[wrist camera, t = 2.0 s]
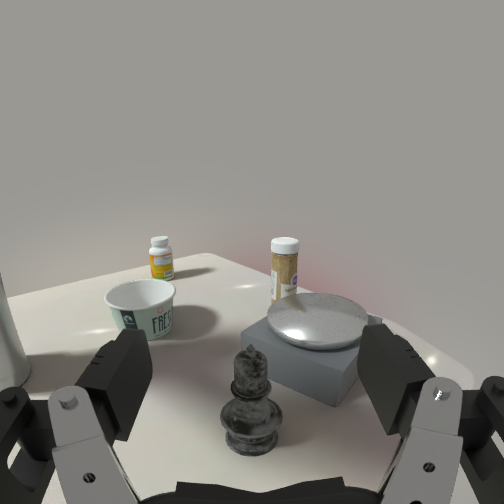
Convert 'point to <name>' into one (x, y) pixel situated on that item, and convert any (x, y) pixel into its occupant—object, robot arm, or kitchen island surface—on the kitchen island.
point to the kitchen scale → (306, 363)
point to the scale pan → (317, 320)
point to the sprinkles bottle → (284, 267)
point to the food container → (143, 306)
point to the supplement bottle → (161, 259)
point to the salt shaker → (251, 407)
